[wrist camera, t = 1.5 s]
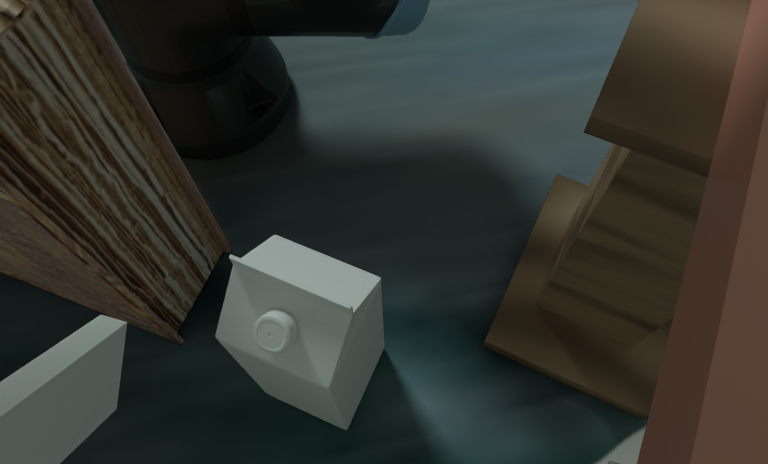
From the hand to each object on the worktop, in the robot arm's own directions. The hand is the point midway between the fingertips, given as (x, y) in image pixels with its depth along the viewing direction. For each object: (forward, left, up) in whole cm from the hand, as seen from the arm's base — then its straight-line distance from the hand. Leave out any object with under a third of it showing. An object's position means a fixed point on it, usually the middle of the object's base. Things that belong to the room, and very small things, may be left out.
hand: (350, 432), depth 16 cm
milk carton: (-10, -3, -31) cm, 33 cm away
